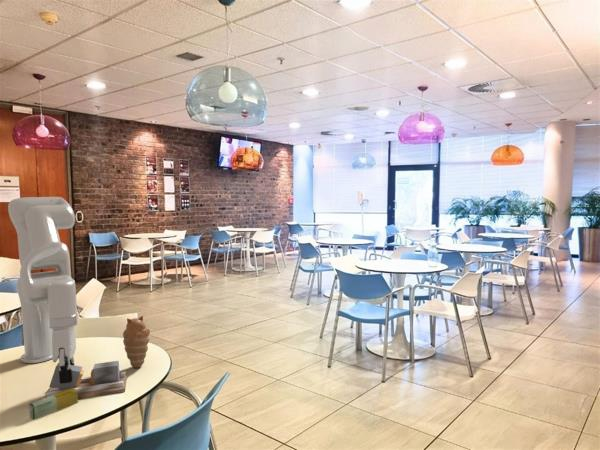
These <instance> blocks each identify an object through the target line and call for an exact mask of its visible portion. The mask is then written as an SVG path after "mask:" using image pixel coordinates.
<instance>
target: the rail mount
mask: <svg viewBox="0 0 600 450" xmlns="http://www.w3.org/2000/svg"><path fill="white" fill-rule="evenodd" d="M127 380H128V372H126V371H121V372H120V362H119V360H113V361H105V362H99V363H94V365H93V367H92V369H91V372H90V376H84V377H82V379H81V382H80V385H79V387H76V388H74V389H76V390H77V395H78V400H80V399H85V398H86V399H87V398H93V397H98V396H99V397H100V396H105V395H106V396H107V395H112V394H113V395H114V394H119V393H125V392H126V388H127V387H126V386H127ZM72 389H73V388H72ZM67 390H70V389H59V388H52V387H49V389H48V391H47V392H46V393H45V397H44V398H47V397H50V396H53V395H56V394H59V393H61V392H64V391H67Z"/></svg>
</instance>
